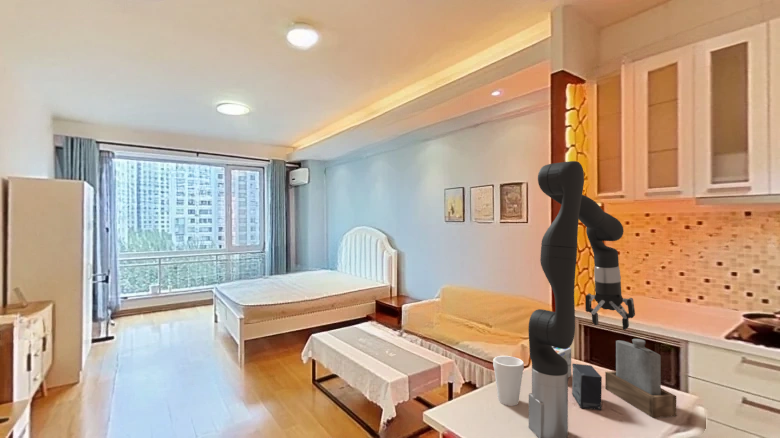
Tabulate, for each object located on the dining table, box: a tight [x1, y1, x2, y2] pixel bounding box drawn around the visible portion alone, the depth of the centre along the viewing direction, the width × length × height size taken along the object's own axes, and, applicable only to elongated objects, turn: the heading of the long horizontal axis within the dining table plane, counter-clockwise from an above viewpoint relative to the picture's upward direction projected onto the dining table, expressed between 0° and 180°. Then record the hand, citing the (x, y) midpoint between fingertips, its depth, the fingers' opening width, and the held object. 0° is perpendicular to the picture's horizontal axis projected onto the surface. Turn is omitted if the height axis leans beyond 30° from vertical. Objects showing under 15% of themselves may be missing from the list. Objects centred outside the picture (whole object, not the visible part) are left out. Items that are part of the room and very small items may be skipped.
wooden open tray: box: [604, 370, 677, 419], centre depth 124 cm, size 8×20×6 cm, turn 8°
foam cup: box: [492, 355, 525, 407], centre depth 124 cm, size 10×9×13 cm
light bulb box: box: [552, 346, 572, 378], centre depth 144 cm, size 11×7×11 cm, turn 130°
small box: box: [571, 363, 603, 411], centre depth 124 cm, size 11×6×10 cm, turn 168°
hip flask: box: [615, 338, 662, 396], centre depth 124 cm, size 16×4×20 cm, turn 12°
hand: (610, 326), depth 128 cm, fingers open, 8 cm apart
